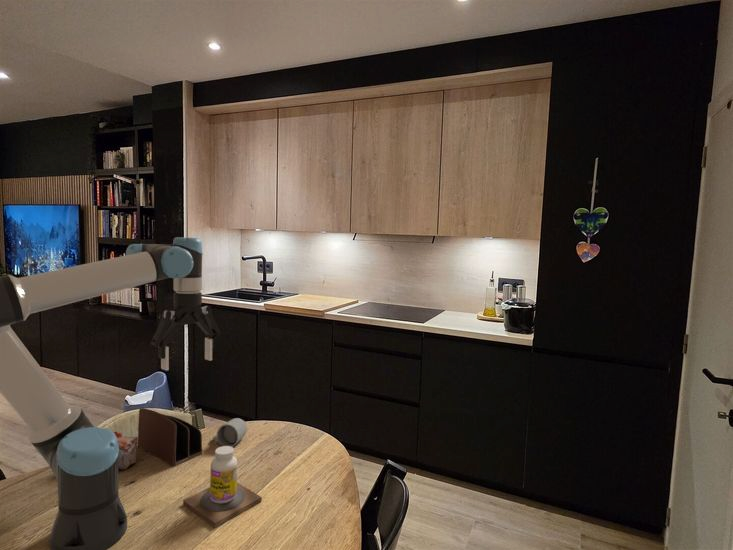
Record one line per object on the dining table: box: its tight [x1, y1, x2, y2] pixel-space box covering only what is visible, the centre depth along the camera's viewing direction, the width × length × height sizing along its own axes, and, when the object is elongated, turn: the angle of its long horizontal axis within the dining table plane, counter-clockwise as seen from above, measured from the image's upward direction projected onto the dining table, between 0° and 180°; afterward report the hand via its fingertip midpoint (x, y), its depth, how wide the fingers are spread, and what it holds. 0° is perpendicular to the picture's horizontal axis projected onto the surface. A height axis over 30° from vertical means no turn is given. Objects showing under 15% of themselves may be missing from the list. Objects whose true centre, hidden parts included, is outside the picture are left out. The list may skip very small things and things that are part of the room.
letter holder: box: [137, 407, 203, 467], centre depth 142 cm, size 10×20×14 cm, turn 56°
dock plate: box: [182, 482, 263, 529], centre depth 116 cm, size 14×14×1 cm
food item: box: [112, 431, 138, 470], centre depth 132 cm, size 14×8×10 cm, turn 89°
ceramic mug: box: [212, 417, 248, 448], centre depth 150 cm, size 11×8×8 cm
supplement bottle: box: [209, 445, 238, 504], centre depth 116 cm, size 7×7×13 cm
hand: (187, 364), depth 129 cm, fingers open, 13 cm apart
